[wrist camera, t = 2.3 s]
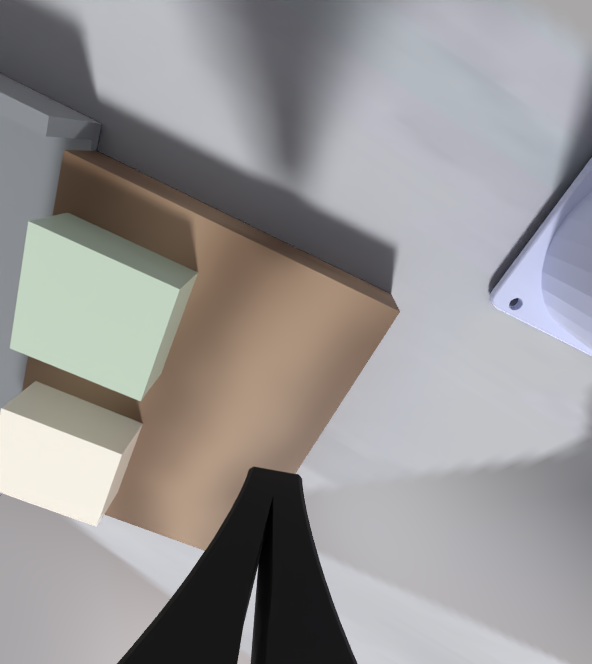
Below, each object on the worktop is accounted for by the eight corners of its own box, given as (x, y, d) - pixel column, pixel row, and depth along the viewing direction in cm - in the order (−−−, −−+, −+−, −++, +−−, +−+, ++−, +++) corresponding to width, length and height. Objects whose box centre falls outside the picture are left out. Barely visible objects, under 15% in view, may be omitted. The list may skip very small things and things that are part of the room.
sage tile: (198, 272, 14) (179, 289, 12) (161, 374, 16) (140, 401, 14) (68, 212, 14) (28, 221, 12) (46, 325, 16) (9, 348, 14)
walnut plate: (391, 294, 16) (399, 311, 14) (244, 530, 23) (237, 562, 21) (96, 151, 14) (63, 150, 13) (33, 451, 21) (6, 478, 20)
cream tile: (142, 423, 17) (121, 454, 16) (117, 492, 19) (96, 526, 18) (35, 380, 17) (1, 407, 15) (21, 456, 19) (-11, 488, 17)
